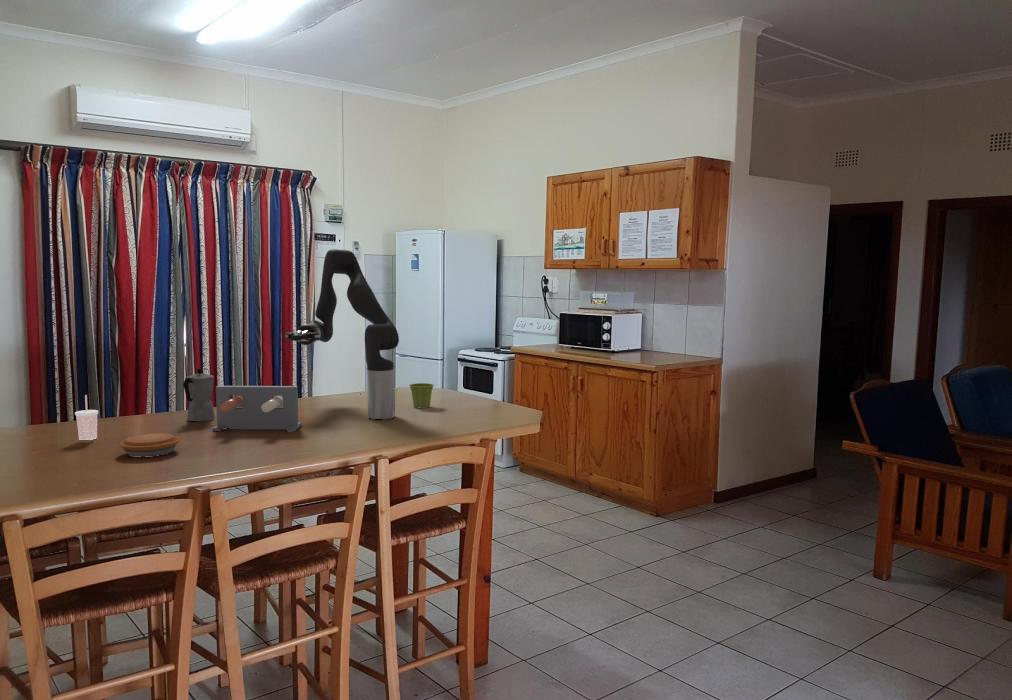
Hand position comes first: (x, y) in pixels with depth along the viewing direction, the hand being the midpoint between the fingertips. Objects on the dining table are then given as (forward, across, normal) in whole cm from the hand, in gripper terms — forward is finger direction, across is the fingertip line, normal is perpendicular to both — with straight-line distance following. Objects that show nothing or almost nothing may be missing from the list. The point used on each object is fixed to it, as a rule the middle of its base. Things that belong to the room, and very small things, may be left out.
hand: (295, 337), depth 262 cm
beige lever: (+27, 0, +21) cm, 34 cm away
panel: (+23, -6, +28) cm, 37 cm away
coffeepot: (+9, -32, +28) cm, 43 cm away
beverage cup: (+42, -52, +28) cm, 72 cm away
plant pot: (-19, +42, +28) cm, 54 cm away
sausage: (+27, -13, +21) cm, 36 cm away
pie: (+57, -26, +28) cm, 69 cm away
